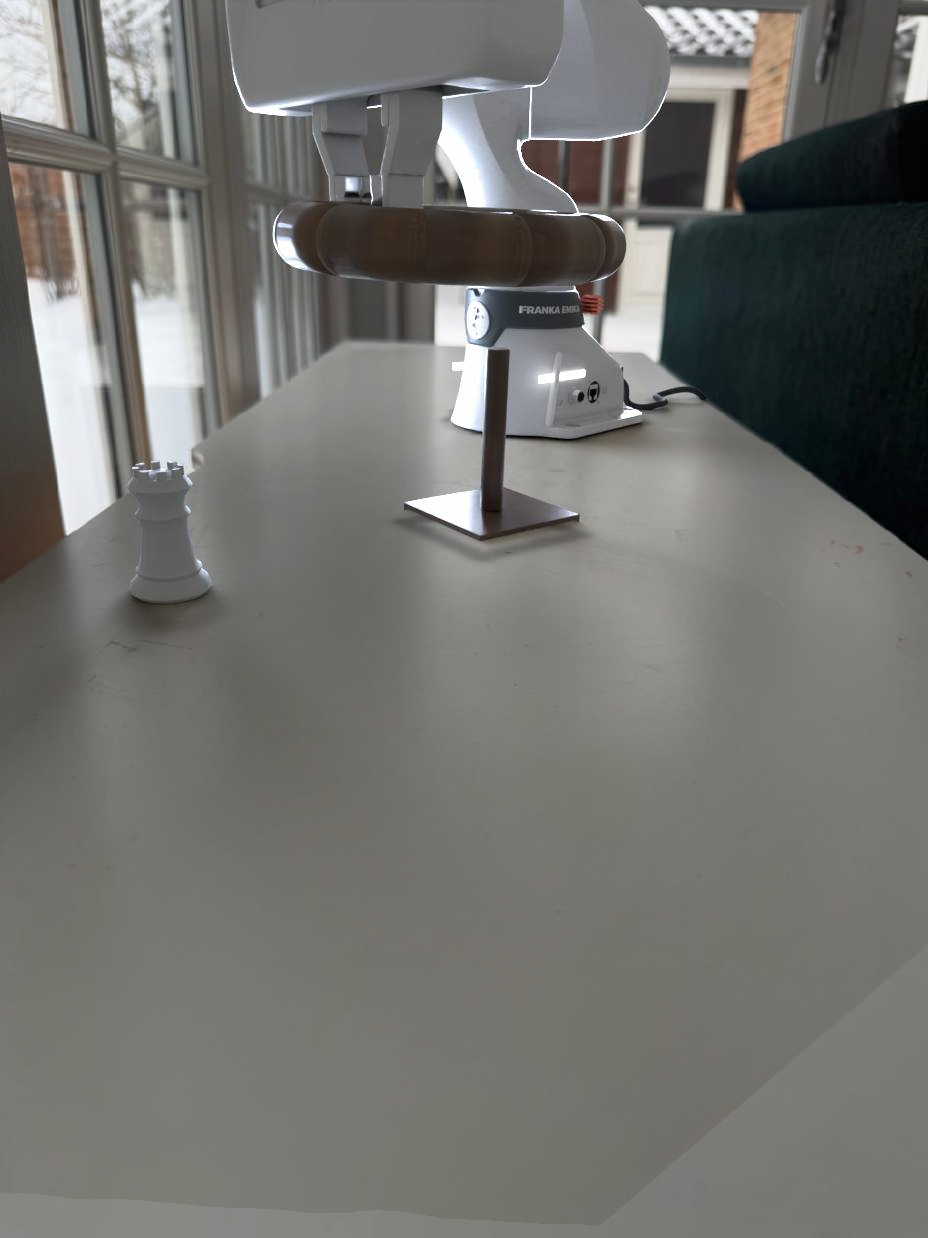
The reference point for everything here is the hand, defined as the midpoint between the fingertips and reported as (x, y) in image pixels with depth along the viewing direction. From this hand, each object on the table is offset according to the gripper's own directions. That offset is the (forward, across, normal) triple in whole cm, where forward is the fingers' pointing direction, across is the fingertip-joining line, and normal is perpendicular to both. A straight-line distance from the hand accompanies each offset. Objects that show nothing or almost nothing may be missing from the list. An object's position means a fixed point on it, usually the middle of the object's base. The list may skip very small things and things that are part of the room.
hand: (374, 220), depth 40 cm
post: (+20, +10, -16) cm, 27 cm away
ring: (+1, -6, 0) cm, 6 cm away
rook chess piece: (+20, +8, +8) cm, 23 cm away
